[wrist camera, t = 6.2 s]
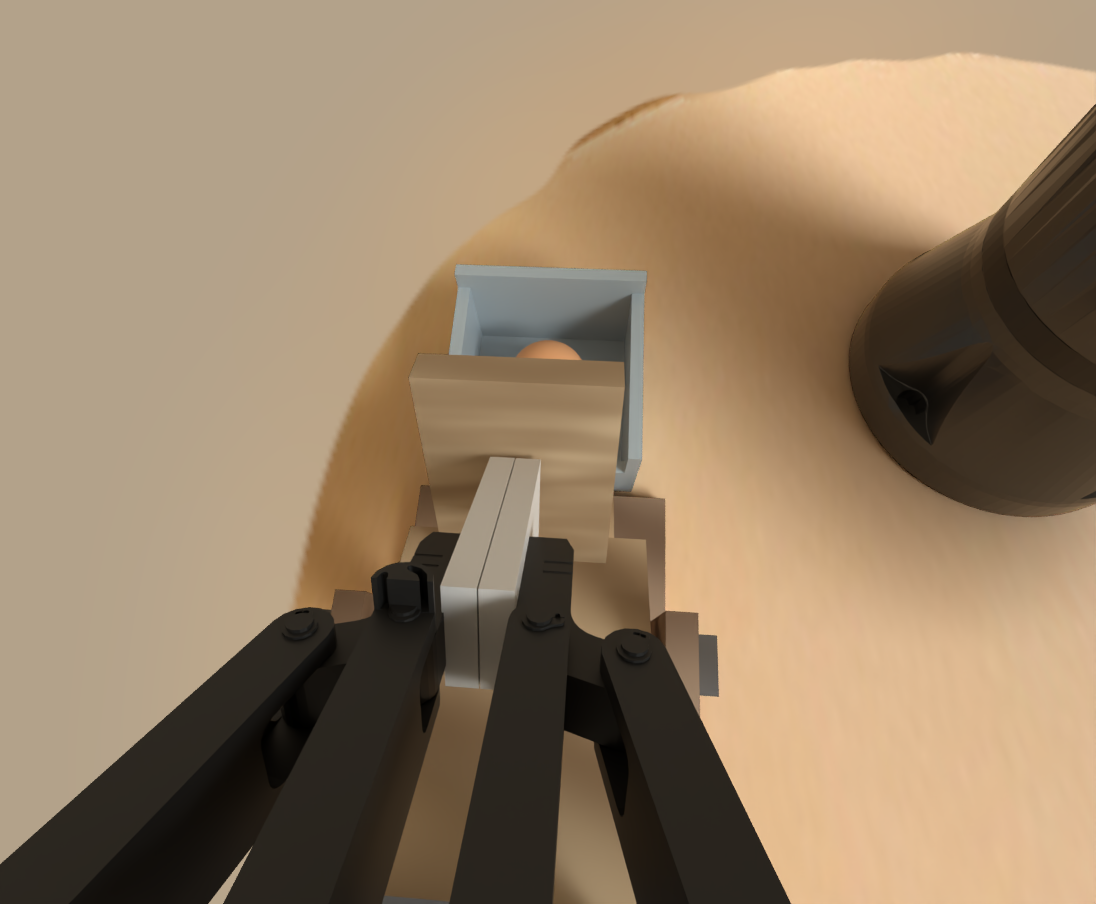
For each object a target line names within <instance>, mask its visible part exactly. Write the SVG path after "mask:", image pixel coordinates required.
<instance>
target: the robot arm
mask: <svg viewBox="0 0 1096 904" xmlns="http://www.w3.org/2000/svg"><path fill="white" fill-rule="evenodd" d="M849 368H850V378H851V383H852V388H853V391H854V395H855V398H856V401H857V404H858V406H859V408H860V411H861V413H862V415H863V417H864V419H865V421H866V422H867V424H868V426H869V427H870V429H871V431H872V432H873V434H874V435H875V436H876V438H877V439H878V441H879V442H880V443H881V444H882V446H883V447H884V448H885V449H886V450H887V452H888V453H889V454H890V455H891V456H892V457H893V458H894V459H895V460H896V461H897V462H898V463H899V464H900V465H902V466H903V467H904V468H905V469H906V470H907V471H909V472H910V473H911V474H912V475H913V476H915V477H916V478H918V479H919V480H920V481H922V482H923V483H925V484H926V485H928V486H929V487H931V488H933V489H934V490H936V491H938V492H940V493H942V494H943V495H945V496H947V497H949V498H952V499H954V500H956V501H958V502H961V503H963V504H966V505H968V506H971V507H974V508H977V509H981V510H984V511H988V512H992V513H997V514H1002V515H1009V516H1019V517H1044V516H1053V515H1060V514H1064V513H1069V512H1072V511H1076V510H1079V509H1082V508H1085V507H1088V506H1091V505H1094V504H1096V104H1095V105H1094V106H1093V107H1092V108H1091V109H1090V111H1089V112H1088V113H1087V114H1086V115H1085V116H1084V117H1083V118H1082V119H1081V120H1080V122H1079V123H1078V124H1077V125H1076V126H1075V127H1074V128H1073V129H1072V130H1071V131H1070V132H1069V134H1068V135H1067V136H1066V137H1065V138H1064V139H1063V140H1062V141H1061V142H1060V143H1059V145H1058V146H1057V147H1056V148H1055V149H1054V150H1053V151H1052V152H1051V153H1050V154H1049V156H1048V157H1047V158H1046V159H1045V160H1044V161H1043V162H1042V163H1041V164H1040V165H1039V166H1038V168H1037V169H1036V170H1035V171H1034V172H1033V173H1032V174H1031V175H1030V176H1029V177H1028V179H1027V180H1026V181H1025V182H1024V183H1023V184H1022V185H1021V187H1020V188H1019V189H1018V190H1017V191H1016V192H1015V193H1014V194H1013V195H1012V196H1011V197H1010V199H1009V200H1008V201H1007V202H1006V203H1005V204H1004V205H1003V206H1002V207H1001V208H1000V209H999V210H998V211H997V212H996V213H995V214H993V215H991V216H989V217H987V218H986V219H984V220H982V221H980V222H979V223H977V224H975V225H973V226H972V227H970V228H968V229H966V230H964V231H963V232H961V233H959V234H957V235H956V236H954V237H952V238H950V239H949V240H947V241H945V242H944V243H942V244H940V245H938V246H937V247H935V248H933V249H932V250H930V251H928V252H926V253H924V254H922V255H920V256H919V257H917V258H915V259H914V260H912V261H910V262H909V263H908V264H906V265H905V266H904V267H903V268H901V269H900V270H899V271H898V272H897V273H895V274H894V275H893V276H892V277H891V278H890V279H889V280H888V282H887V283H886V284H885V285H884V286H883V287H882V289H881V290H880V291H879V292H878V294H877V295H876V296H875V297H874V299H873V300H872V301H871V302H870V303H869V305H868V306H867V307H866V309H865V310H864V312H863V313H862V315H861V317H860V319H859V321H858V323H857V325H856V328H855V330H854V333H853V337H852V341H851V347H850V356H849ZM540 467H541V459H524V458H516V460H515V458H506V457H490V459H489V461H488V464H487V467H486V469H485V472H484V474H483V477H482V479H481V482H480V485H479V487H478V490H477V492H476V495H475V498H474V500H473V503H472V505H471V508H470V510H469V513H468V516H467V518H466V521H465V523H464V526H463V529H462V531H461V533H446V532H432V533H431V534H429V535H428V536H427V537H425V538H424V539H423V540H422V541H420V543H419V545H418V547H417V549H416V551H415V553H414V556H413V557H412V559H411V561H410V562H398V563H395V564H391V565H387V566H385V567H383V568H381V569H380V570H378V571H377V572H376V573H375V574H374V575H373V576H372V577H371V583H372V593H373V602H374V611H373V613H372V615H371V616H370V617H368V618H365V619H361V620H356V621H350V622H344V623H337V624H334V618H333V617H332V615H331V614H330V613H329V612H327V611H325V610H323V609H321V608H311V607H308V608H301V609H296V610H293V611H290V612H288V613H285V614H283V615H282V616H280V617H279V618H278V619H276V620H274V621H273V622H272V623H271V624H270V625H268V626H267V627H266V628H265V629H264V630H263V631H262V632H261V633H260V634H258V635H257V636H256V637H255V638H254V639H253V640H252V641H251V642H249V643H248V644H247V645H246V646H245V647H244V648H243V649H242V650H241V651H239V652H238V653H237V654H236V655H235V656H234V657H233V658H231V659H230V660H229V661H228V662H227V663H226V664H225V665H224V666H223V667H222V668H220V669H219V670H218V671H217V672H216V673H215V674H214V675H212V676H211V677H210V678H209V679H208V680H207V681H206V682H204V683H203V685H201V686H200V687H199V688H198V689H197V690H195V691H194V692H193V693H192V694H191V695H190V696H189V697H188V698H186V699H185V700H184V701H183V702H182V703H181V704H180V705H179V706H178V707H176V709H174V710H173V711H172V712H171V713H170V714H169V715H167V716H166V717H165V718H164V719H163V720H162V721H161V722H160V723H158V724H157V725H156V726H155V727H154V728H153V729H152V730H151V731H149V732H148V733H147V734H146V735H145V736H144V737H143V738H142V739H140V740H139V741H138V742H137V743H136V744H135V745H134V746H133V747H132V748H130V749H129V750H128V751H127V752H126V753H125V754H124V755H122V756H121V757H120V758H119V759H118V760H117V761H116V762H115V763H113V764H112V765H111V766H110V767H109V768H108V769H107V770H106V771H104V772H103V773H102V774H101V775H100V776H99V777H98V778H97V779H95V780H94V781H93V782H92V783H91V784H90V785H89V786H88V787H87V788H85V789H84V790H83V791H82V792H81V793H80V794H79V795H78V796H77V797H75V798H74V799H73V800H72V801H71V802H70V803H69V804H67V805H66V806H65V807H64V808H63V809H62V810H61V811H60V812H58V813H57V814H56V815H55V816H54V817H53V818H52V819H51V820H49V821H48V822H47V823H46V824H45V825H44V826H43V827H42V828H40V829H39V830H38V831H37V832H36V833H35V834H34V835H33V836H31V837H30V838H29V839H28V840H27V841H26V842H25V843H24V844H22V845H21V846H20V847H19V848H18V849H17V850H16V851H15V852H13V854H11V855H10V856H9V857H8V858H7V859H6V860H4V862H2V863H1V864H0V904H208V903H209V902H210V901H211V899H212V898H213V897H214V895H215V894H216V893H217V892H218V890H219V889H220V888H221V886H222V885H223V884H224V882H225V881H226V880H227V879H228V877H229V876H230V874H231V873H232V872H233V871H234V869H235V868H236V867H237V866H238V864H239V863H240V862H241V860H242V859H243V858H244V856H245V855H246V854H247V852H248V851H249V850H250V849H251V847H252V846H253V847H252V849H251V851H250V853H249V855H248V856H247V858H246V860H245V862H244V864H243V866H242V868H241V870H240V872H239V874H238V876H237V878H236V880H235V882H234V884H233V886H232V888H231V890H230V892H229V893H228V895H227V897H226V899H225V901H224V903H223V904H382V902H383V899H384V895H385V892H386V888H387V885H388V881H389V878H390V875H391V871H392V868H393V864H394V861H395V857H396V854H397V851H398V847H399V844H400V840H401V837H402V833H403V830H404V827H405V823H406V820H407V816H408V813H409V809H410V806H411V802H412V799H413V796H414V792H415V789H416V785H417V782H418V778H419V775H420V772H421V768H422V765H423V761H424V758H425V754H426V751H427V748H428V744H429V741H430V737H431V734H432V730H433V727H434V724H435V720H436V717H437V713H438V710H439V706H440V683H441V679H442V676H443V673H444V670H445V686H451V687H464V688H477V689H479V685H480V689H490V690H493V695H492V700H491V705H490V709H489V714H488V719H487V724H486V729H485V733H484V738H483V743H482V748H481V753H480V757H479V762H478V767H477V772H476V777H475V781H474V786H473V791H472V796H471V801H470V806H469V810H468V815H467V820H466V825H465V830H464V834H463V839H462V844H461V849H460V854H459V858H458V863H457V868H456V873H455V878H454V882H453V887H452V892H451V897H450V902H449V904H553V900H554V884H555V868H556V852H557V836H558V820H559V804H560V787H561V771H562V755H563V741H564V731H567V732H570V733H572V734H575V735H577V736H580V737H583V738H585V739H588V740H590V741H593V742H594V750H595V754H596V758H597V761H598V765H599V768H600V772H601V776H602V779H603V783H604V787H605V790H606V794H607V798H608V801H609V805H610V808H611V812H612V816H613V819H614V823H615V827H616V830H617V834H618V838H619V841H620V845H621V849H622V852H623V856H624V859H625V863H626V867H627V870H628V874H629V878H630V881H631V885H632V889H633V892H634V896H635V900H636V903H637V904H791V903H790V901H789V899H788V897H787V895H786V892H785V890H784V888H783V886H782V884H781V882H780V880H779V878H778V876H777V874H776V872H775V870H774V868H773V866H772V864H771V862H770V860H769V858H768V856H767V854H766V852H765V850H764V847H763V845H762V843H761V841H760V839H759V837H758V835H757V833H756V831H755V829H754V827H753V825H752V823H751V821H750V819H749V817H748V815H747V813H746V811H745V809H744V807H743V804H742V802H741V800H740V798H739V796H738V794H737V792H736V790H735V788H734V786H733V784H732V782H731V780H730V778H729V776H728V774H727V772H726V770H725V768H724V766H723V764H722V762H721V759H720V757H719V755H718V753H717V751H716V749H715V747H714V745H713V743H712V741H711V739H710V737H709V735H708V733H707V731H706V729H705V727H704V725H703V723H702V721H701V719H700V717H699V714H698V712H697V710H696V708H695V706H694V704H693V702H692V700H691V698H690V696H689V694H688V692H687V690H686V688H685V686H684V684H683V682H682V680H681V678H680V676H679V674H678V672H677V669H676V667H675V665H674V663H673V661H672V659H671V657H670V655H669V653H668V651H667V649H666V647H665V646H664V645H663V643H662V642H661V641H660V639H658V638H657V637H655V636H654V635H652V634H651V633H649V632H646V631H642V630H639V629H629V628H624V629H620V630H616V631H613V632H612V633H610V634H609V635H607V636H606V637H605V639H602V638H599V637H596V636H593V635H591V634H589V633H587V632H585V631H584V630H582V629H581V628H579V627H578V626H577V624H576V623H575V622H574V620H573V618H572V616H571V597H572V579H573V561H574V549H573V548H572V546H571V544H570V543H569V541H568V540H567V539H562V538H546V537H539V503H540Z"/></svg>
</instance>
